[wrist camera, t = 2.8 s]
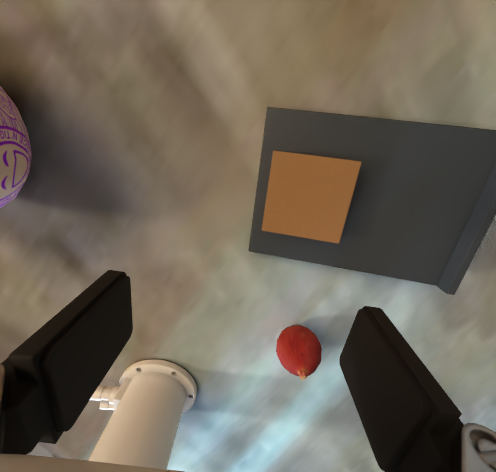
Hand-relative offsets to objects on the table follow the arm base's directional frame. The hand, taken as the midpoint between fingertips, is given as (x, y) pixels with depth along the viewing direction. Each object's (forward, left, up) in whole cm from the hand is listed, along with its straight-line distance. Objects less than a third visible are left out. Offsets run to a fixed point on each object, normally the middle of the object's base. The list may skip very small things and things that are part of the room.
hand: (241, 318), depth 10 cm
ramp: (+12, +3, -20) cm, 23 cm away
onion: (+9, -17, -20) cm, 28 cm away
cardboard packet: (+6, +3, -18) cm, 19 cm away
